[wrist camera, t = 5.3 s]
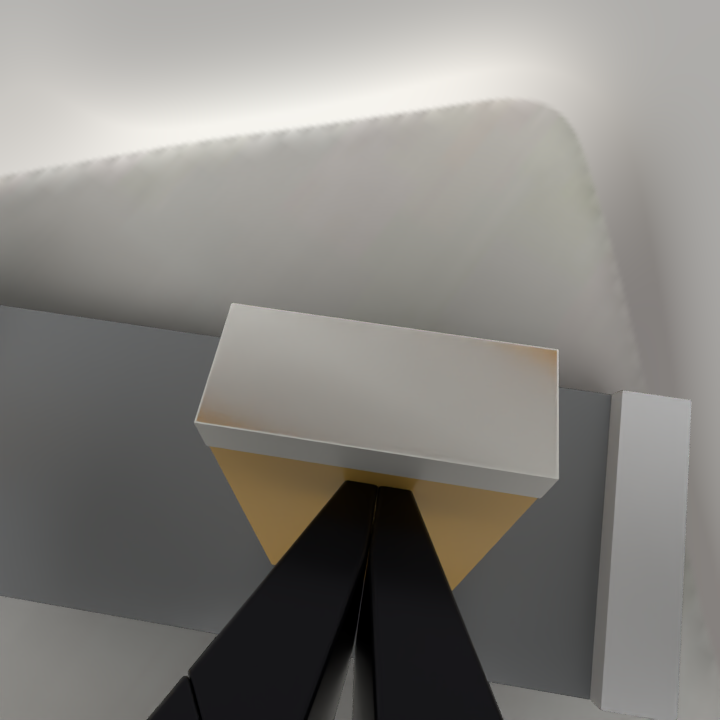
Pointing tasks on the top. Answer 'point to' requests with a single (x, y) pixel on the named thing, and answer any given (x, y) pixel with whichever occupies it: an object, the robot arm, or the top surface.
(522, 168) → the top surface
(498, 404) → the outlet rocker
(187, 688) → the robot arm
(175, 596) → the power strip
